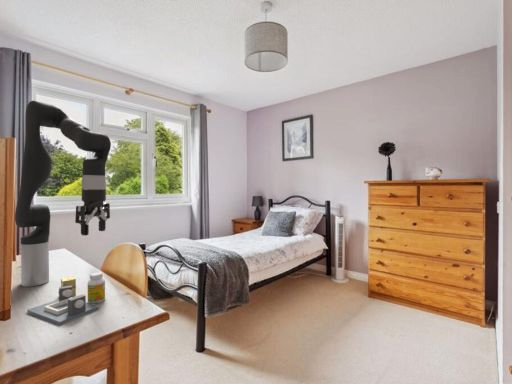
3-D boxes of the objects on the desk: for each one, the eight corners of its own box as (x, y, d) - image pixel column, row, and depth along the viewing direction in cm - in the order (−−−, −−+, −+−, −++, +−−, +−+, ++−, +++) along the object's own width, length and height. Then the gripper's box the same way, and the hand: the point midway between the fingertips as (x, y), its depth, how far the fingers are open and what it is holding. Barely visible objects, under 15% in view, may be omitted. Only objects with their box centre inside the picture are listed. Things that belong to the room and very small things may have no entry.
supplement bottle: (85, 304, 95) (85, 276, 95) (90, 298, 101) (90, 272, 100) (102, 302, 97) (102, 275, 97) (106, 296, 102) (106, 270, 102)
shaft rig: (27, 312, 89) (27, 295, 89) (66, 299, 100) (66, 283, 100) (59, 325, 81) (59, 305, 81) (98, 309, 92) (98, 291, 92)
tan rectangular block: (63, 297, 101) (62, 281, 101) (60, 294, 104) (60, 278, 104) (76, 294, 104) (75, 278, 104) (73, 291, 107) (73, 276, 107)
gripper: (98, 187, 106) (98, 229, 106) (68, 188, 92) (68, 236, 92) (116, 188, 105) (115, 230, 105) (88, 188, 91) (88, 237, 91)
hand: (93, 233), depth 99 cm, fingers open, 8 cm apart
